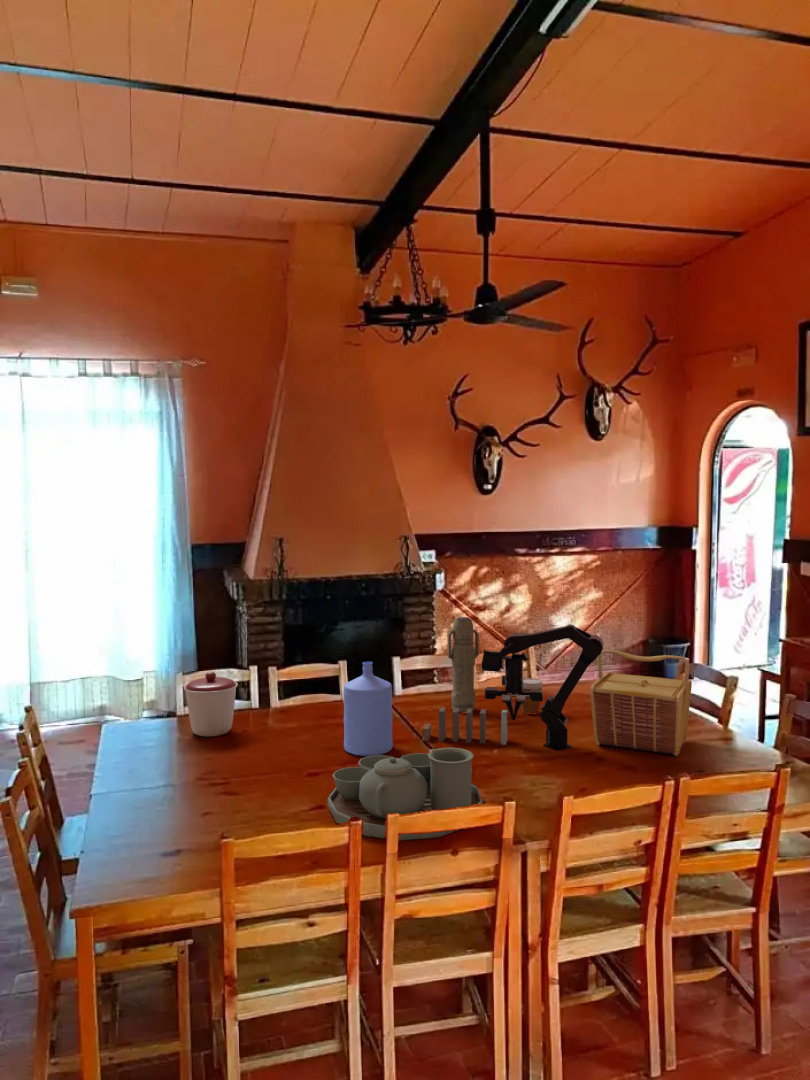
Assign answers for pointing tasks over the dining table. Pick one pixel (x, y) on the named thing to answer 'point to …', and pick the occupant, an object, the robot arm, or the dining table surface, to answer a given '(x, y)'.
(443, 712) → the domino
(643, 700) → the picnic basket
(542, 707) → the robot arm
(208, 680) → the canister
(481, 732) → the domino
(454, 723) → the domino
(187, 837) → the dining table surface
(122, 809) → the dining table surface
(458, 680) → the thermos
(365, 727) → the water jug
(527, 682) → the disposable coffee cup
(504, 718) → the teal domino
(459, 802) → the tea set
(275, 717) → the dining table surface
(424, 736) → the end block
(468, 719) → the domino
